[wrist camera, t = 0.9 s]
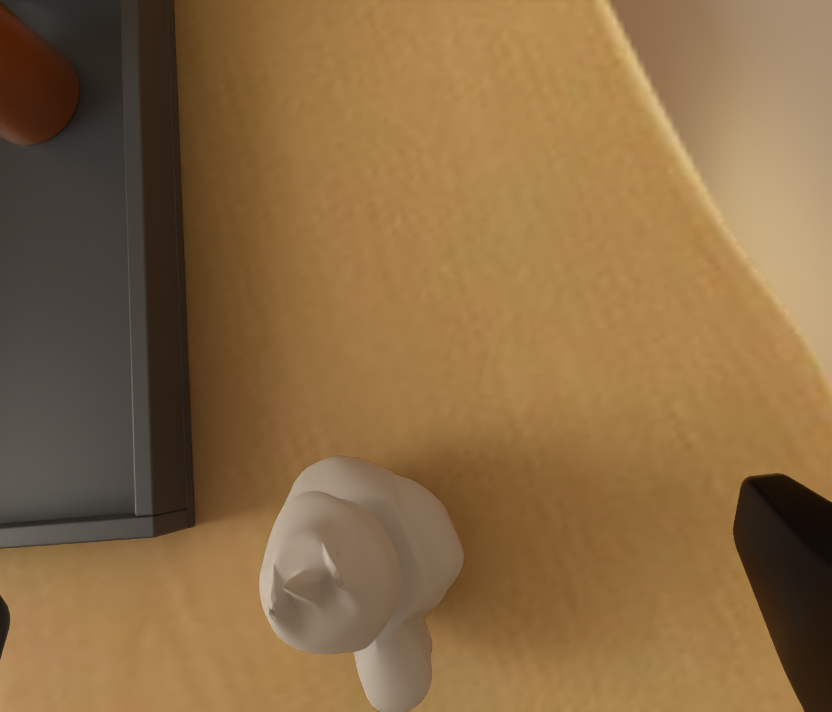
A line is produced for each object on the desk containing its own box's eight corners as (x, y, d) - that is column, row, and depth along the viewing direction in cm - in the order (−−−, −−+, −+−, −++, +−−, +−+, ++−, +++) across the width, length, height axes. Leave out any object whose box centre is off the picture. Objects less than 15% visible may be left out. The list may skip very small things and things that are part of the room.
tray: (195, 526, 21) (154, 537, 19) (-92, 548, 23) (-165, 561, 20) (167, -176, 25) (129, -243, 22) (-82, -122, 26) (-143, -180, 24)
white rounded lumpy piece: (419, 423, 21) (362, 412, 13) (510, 630, 20) (509, 757, 12) (262, 493, 21) (116, 525, 13) (343, 701, 20) (235, 868, 12)
